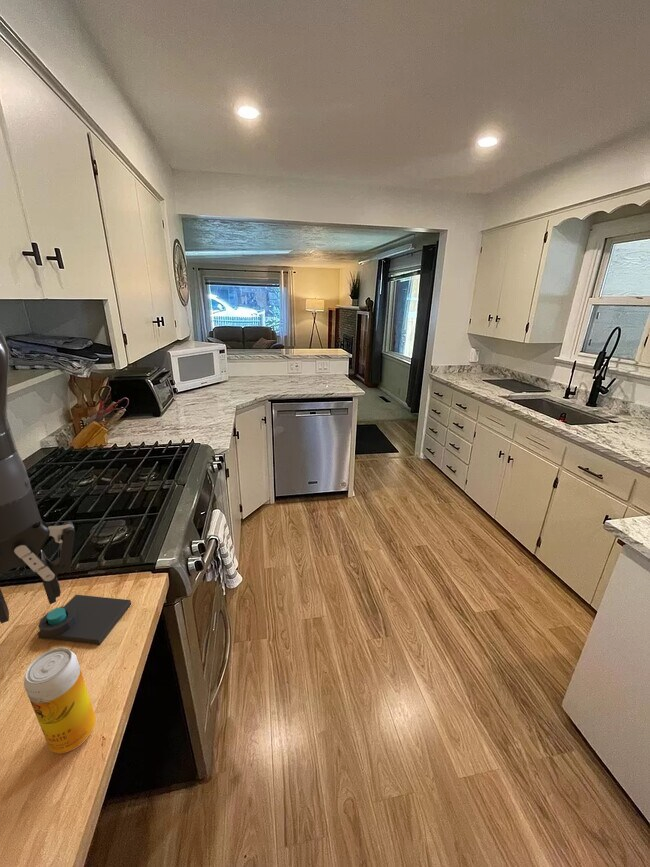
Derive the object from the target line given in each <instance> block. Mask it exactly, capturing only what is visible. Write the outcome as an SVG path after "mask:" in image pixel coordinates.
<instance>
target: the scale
mask: <svg viewBox="0 0 650 867" xmlns="http://www.w3.org/2000/svg"><path fill="white" fill-rule="evenodd" d="M131 600H132V599H125V598H124V599H123V598H113V597H104V596H103V597H102V596H95V595H94V596H93V595H85V594H84V595H83V594H75V595H74V596H73V597H71V599H70V600H69V601H68V602H67V603H66V604H65V605H63V606H59V607H58V608H60V607H61V608H64V609H65V612H66V615H67V617H66V619H65V620H64V621H62V622H60V623H59V624H56V625H49V623H48V620H47V615H48V613H49V612H47V613H46V614H45V615H44V616H43V617H42V618H41V619H40V620H39V623H38V630H39V631H38V632H37V637H38V639H43V640H51V641H60V642H70V643H78V644H87V645H88V644H89V645H96V646H101V645H102V644H103V642H104V641H105V639H106V638H107V637H108V636H109V635H110V633H111V632H112V631H113V629H114V628H115V627H116V625H117V624H118V623H119V621H120V620H121V619H122V618H123V617H124V615H125V614H126V612H127V611H128V610H129V609H130V608H131V606H132V605H131V604H132V601H131ZM130 605H131V606H130ZM128 608H129V609H128Z"/></svg>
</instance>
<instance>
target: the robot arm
mask: <svg viewBox="0 0 650 867" xmlns="http://www.w3.org/2000/svg"><path fill="white" fill-rule="evenodd" d="M9 368H10V354H9V346H8V343H7V341H6V338H5V336H4V333H2V331H1V330H0V575H2V574H6V573H7V572H8V571H12V570H13V569H17V568H18V569H19V568H23V567H26V566H28V567H29V568H30V569H31V571H32V572H33V573H37V575H38V576H39V577H40V578H41V579H42V586H43V588H44V592H45V594H46V597H47V600H48V603H49V605H52V604H55V603H57V598H59V597H60V596H61V593H62V592H61V586H60V583H59V579H58V575H59V574H60V573H62V572H66V571H68V570H70V568H71V564H72V558H73V551H74V550H73V549H74V543H75V537H76V530H75V527H74V523H73V521H70V520H68V521H65V522H63V523H62V524H61V525H60V524H59V525H49V524H48V523H47V522H45V521H44V520H43V519H42V517H41V514H40V511H39V510H40V509H39V508H38V507H39V506H38V503H37V501H36V498H35V495H34V491H33V488H32V485H31V481H30V477H29V475H28V471H27V468H26V466H25V463H24V461H23V460H22V457H21V456H20V453H19V451H18V448H17V445H16V442H15V439H14V435H13V432H12V429H11V426H10V423H9V421H8V385H9V372H10V371H9V370H10V369H9ZM49 537H53V539H54V542H55V543H56V544H59V546H58V552H57V557H56V558H55V559H54V560H53V561H51V560H50V559H49V558H48V556H47V555H46V554H45V551H44V550H43V548H44V545H45V544H46V542H47V540H48V538H49ZM9 620H10V610H9V607H8V604H7V602H6V599H5V597H4V594H3V591H2V589H1V588H0V624H4V623H7V622H9Z"/></svg>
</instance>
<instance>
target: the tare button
mask: <svg viewBox="0 0 650 867" xmlns="http://www.w3.org/2000/svg"><path fill="white" fill-rule="evenodd" d="M59 607H60V608H59ZM59 607H56V608H53V609H52V610H50V611H48V612H47V613H48V615H47V620H48V623H49V625H56V624H59V623H60V622H62V621H64V620H65V619H66V617H67V615H66V612H65V609H64V608H61V607H62V606H59Z"/></svg>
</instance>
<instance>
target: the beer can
mask: <svg viewBox="0 0 650 867" xmlns="http://www.w3.org/2000/svg"><path fill="white" fill-rule="evenodd" d="M24 676H25V677H24V680H23V687H24V689H25V692H26V695H27V697H28V699H29V702H30V705H31V707H32V710H33V712H34V714H35V717H36V719H37V721H38V724H39V727H40V729H41V731H42V734H43V736H44V740H45V741H46V744H47V746H48V749H49V751H51V752H52V753H53V754H66V753H68V752H72V751H74V750H75V749H77V748H78V747H80V746H81V745H83V743H84V742H85V741H86V740H87V739H88V737H89V736H90V735H91V734H92V732H93V730H94V728H95V725H96V722H97V721H96V720H97V717H96V714H95V709H94V707H93V704H92V701H91V698H90V694H89V692H88V691H89V690H88V688H87V685H86V682H85V680H84V675H83V673H82V670H81V666H80V663H79V660H78V657H77V655H76V653H74V652H73V651H72V650H70V648H67V647H56V648H52V649H49V650H47V651H46V652H44V653H43V652H42V654H40V655H39V656H37V657H36V658H35V659H34V660H33V661H32V662H31V663H30V665H29V666H28V667H27V669H26V670H25V675H24Z"/></svg>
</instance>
